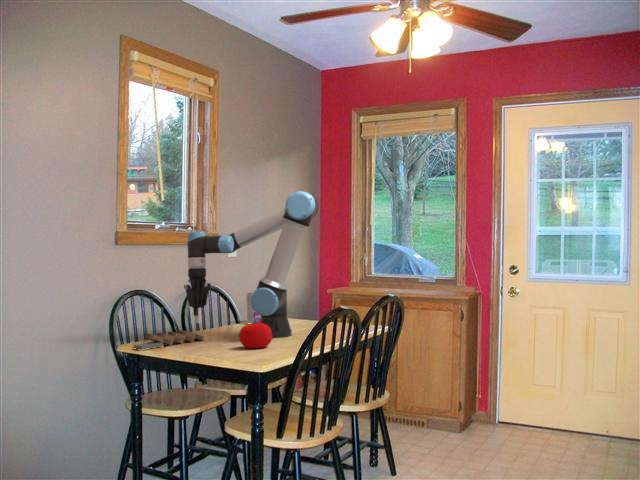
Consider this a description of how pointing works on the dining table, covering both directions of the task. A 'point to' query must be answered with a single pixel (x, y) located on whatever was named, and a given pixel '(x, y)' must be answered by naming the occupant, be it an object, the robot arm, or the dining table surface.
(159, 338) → the domino
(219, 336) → the dining table surface
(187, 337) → the domino
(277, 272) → the robot arm
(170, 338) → the domino
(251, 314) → the candy bar box
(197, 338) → the domino
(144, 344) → the domino
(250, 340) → the tomato
